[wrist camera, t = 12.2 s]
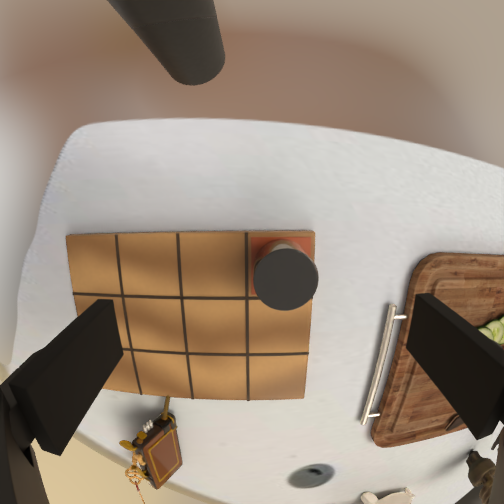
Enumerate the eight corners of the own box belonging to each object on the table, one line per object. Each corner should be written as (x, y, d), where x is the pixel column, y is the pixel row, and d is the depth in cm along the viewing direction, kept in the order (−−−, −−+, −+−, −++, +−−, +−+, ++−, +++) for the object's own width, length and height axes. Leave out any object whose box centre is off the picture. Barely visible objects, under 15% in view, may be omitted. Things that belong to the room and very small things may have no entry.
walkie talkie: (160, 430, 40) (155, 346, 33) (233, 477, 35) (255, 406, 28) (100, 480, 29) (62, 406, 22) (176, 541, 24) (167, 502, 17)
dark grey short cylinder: (253, 237, 27) (253, 247, 23) (311, 239, 27) (321, 249, 23) (252, 293, 28) (252, 310, 24) (307, 293, 28) (315, 311, 24)
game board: (70, 234, 28) (64, 236, 27) (313, 230, 28) (315, 232, 27) (98, 383, 32) (95, 388, 31) (302, 393, 32) (304, 399, 31)
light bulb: (483, 448, 37) (517, 497, 22) (461, 466, 38) (491, 518, 23) (478, 439, 36) (515, 492, 21) (454, 459, 37) (487, 514, 22)
